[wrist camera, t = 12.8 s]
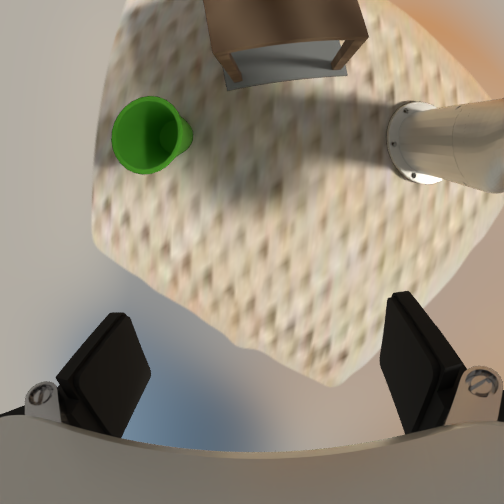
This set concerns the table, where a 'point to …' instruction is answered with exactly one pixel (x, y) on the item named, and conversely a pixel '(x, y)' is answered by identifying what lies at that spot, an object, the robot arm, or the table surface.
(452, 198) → the table surface
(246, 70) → the mat
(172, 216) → the table surface
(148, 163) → the cup
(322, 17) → the cover
